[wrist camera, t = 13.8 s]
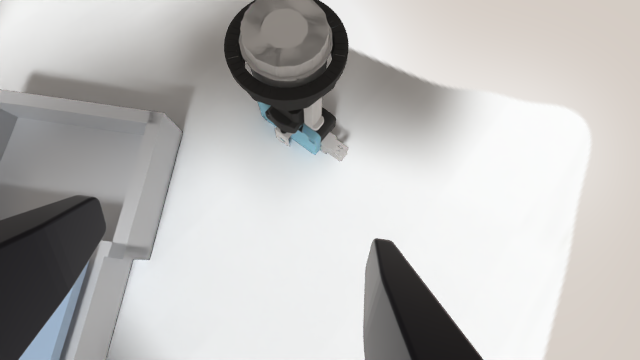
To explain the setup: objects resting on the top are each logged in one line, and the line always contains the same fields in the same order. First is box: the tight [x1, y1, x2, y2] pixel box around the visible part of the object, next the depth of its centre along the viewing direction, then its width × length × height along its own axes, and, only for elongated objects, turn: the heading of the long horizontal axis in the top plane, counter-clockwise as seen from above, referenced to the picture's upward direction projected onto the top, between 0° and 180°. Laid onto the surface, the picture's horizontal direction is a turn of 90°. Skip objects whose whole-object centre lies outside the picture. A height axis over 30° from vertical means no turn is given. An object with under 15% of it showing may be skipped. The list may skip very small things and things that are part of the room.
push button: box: [224, 0, 348, 161], centre depth 18 cm, size 7×5×10 cm
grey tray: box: [0, 89, 183, 360], centre depth 19 cm, size 19×12×3 cm, turn 172°
